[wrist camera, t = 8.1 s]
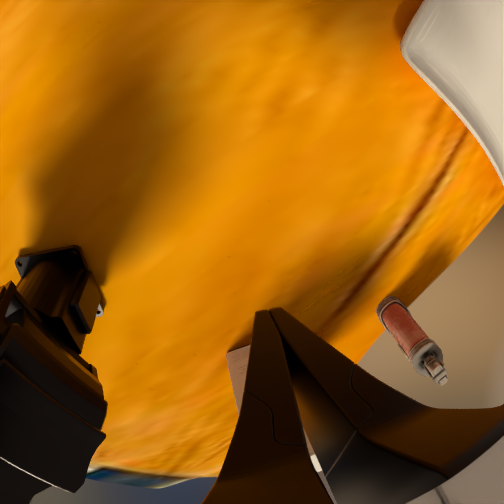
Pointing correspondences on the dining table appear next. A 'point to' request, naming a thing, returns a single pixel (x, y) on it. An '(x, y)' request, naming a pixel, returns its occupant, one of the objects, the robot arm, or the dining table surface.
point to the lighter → (412, 339)
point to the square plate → (463, 64)
